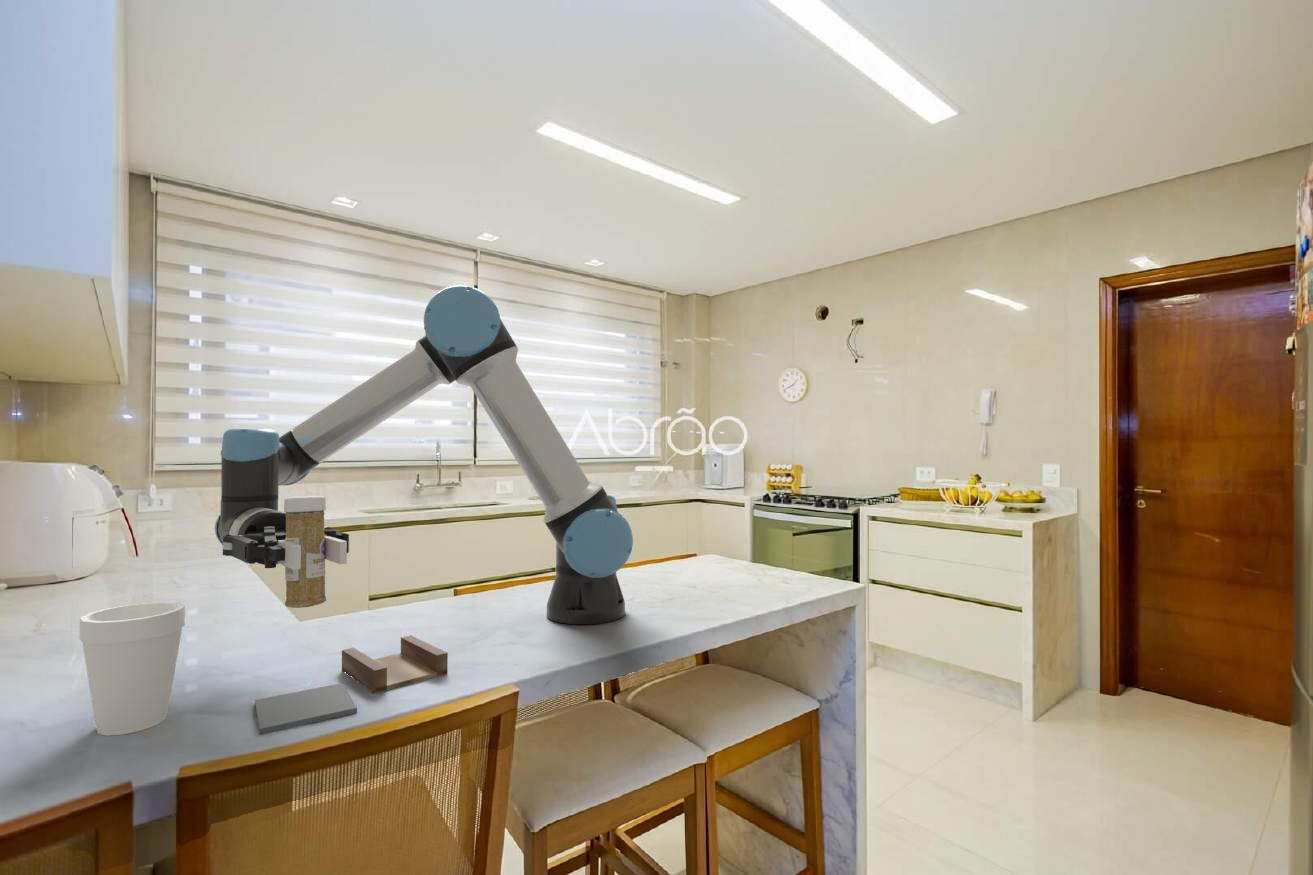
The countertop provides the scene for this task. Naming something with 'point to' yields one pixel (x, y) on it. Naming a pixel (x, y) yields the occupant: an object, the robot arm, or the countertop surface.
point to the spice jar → (306, 550)
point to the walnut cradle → (396, 665)
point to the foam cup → (131, 663)
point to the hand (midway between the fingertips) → (320, 555)
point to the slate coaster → (303, 707)
